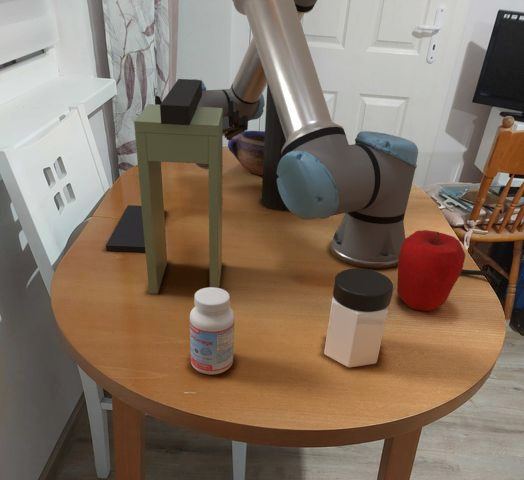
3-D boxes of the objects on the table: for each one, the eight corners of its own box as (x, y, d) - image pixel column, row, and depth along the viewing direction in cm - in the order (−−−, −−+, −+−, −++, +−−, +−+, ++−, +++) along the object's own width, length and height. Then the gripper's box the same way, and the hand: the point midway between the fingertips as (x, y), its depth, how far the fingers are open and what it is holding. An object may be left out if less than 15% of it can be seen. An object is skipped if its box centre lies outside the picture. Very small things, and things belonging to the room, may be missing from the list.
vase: (308, 208, 127) (323, 71, 109) (270, 212, 123) (279, 71, 106) (291, 194, 134) (302, 63, 117) (255, 197, 131) (261, 63, 113)
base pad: (128, 210, 120) (127, 205, 119) (162, 211, 120) (162, 206, 120) (106, 250, 102) (105, 245, 101) (147, 252, 102) (146, 247, 102)
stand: (159, 262, 99) (147, 103, 83) (221, 264, 100) (222, 107, 83) (149, 293, 90) (133, 121, 73) (218, 295, 90) (218, 125, 74)
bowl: (306, 170, 152) (310, 134, 146) (275, 185, 139) (277, 147, 133) (255, 158, 159) (256, 123, 153) (221, 171, 146) (221, 134, 141)
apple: (378, 294, 94) (393, 222, 86) (425, 286, 97) (443, 217, 89) (411, 324, 86) (430, 249, 78) (461, 315, 89) (485, 242, 81)
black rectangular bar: (179, 94, 90) (178, 78, 89) (201, 95, 91) (201, 80, 89) (160, 123, 73) (159, 104, 71) (189, 125, 73) (189, 106, 71)
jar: (390, 352, 79) (407, 283, 72) (360, 375, 74) (375, 303, 67) (343, 328, 84) (354, 261, 77) (311, 349, 79) (321, 278, 72)
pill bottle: (182, 361, 74) (179, 293, 68) (214, 345, 78) (214, 279, 71) (209, 382, 71) (208, 312, 64) (242, 364, 75) (244, 296, 68)
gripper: (256, 159, 118) (260, 131, 97) (146, 152, 117) (125, 123, 96) (258, 124, 117) (262, 89, 96) (147, 117, 116) (126, 80, 95)
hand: (194, 106), depth 96 cm, fingers open, 13 cm apart
